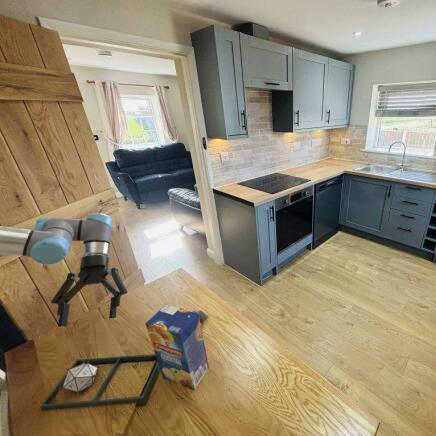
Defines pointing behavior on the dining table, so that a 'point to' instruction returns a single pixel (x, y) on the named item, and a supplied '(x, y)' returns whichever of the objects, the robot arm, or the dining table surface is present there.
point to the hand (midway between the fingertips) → (88, 322)
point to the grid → (139, 400)
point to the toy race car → (200, 315)
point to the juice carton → (178, 345)
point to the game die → (80, 377)
